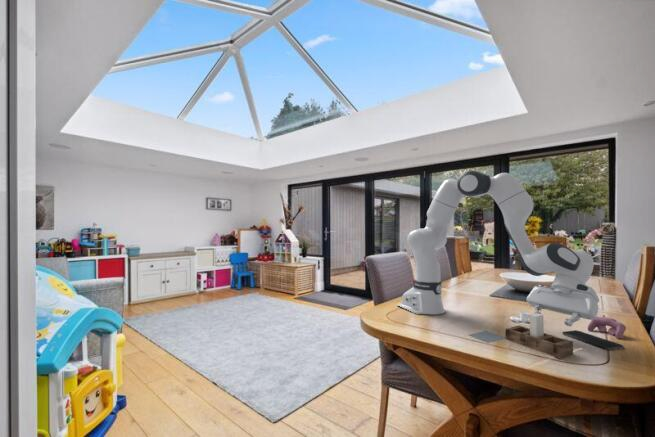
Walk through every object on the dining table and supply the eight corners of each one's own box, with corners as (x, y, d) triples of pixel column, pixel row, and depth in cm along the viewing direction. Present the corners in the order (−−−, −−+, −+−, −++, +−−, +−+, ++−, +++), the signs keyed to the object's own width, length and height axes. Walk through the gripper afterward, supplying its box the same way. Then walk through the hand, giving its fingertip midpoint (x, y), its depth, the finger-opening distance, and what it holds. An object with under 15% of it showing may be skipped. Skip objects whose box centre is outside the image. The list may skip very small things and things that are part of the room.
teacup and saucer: (508, 322, 124) (508, 312, 124) (514, 318, 130) (514, 308, 130) (532, 327, 118) (532, 317, 118) (538, 323, 123) (538, 313, 123)
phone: (607, 348, 95) (560, 331, 110) (607, 352, 95) (560, 334, 110) (625, 346, 97) (577, 330, 111) (625, 349, 97) (577, 333, 111)
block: (530, 342, 98) (529, 315, 99) (537, 340, 100) (536, 313, 100) (536, 344, 97) (536, 316, 97) (543, 342, 98) (543, 315, 98)
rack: (505, 340, 104) (505, 328, 104) (519, 336, 107) (518, 325, 107) (559, 359, 89) (559, 345, 89) (573, 354, 92) (572, 341, 93)
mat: (467, 336, 108) (467, 334, 108) (486, 331, 112) (485, 330, 112) (487, 343, 101) (487, 342, 101) (506, 338, 105) (506, 337, 105)
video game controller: (625, 342, 105) (629, 323, 107) (618, 338, 104) (623, 319, 105) (591, 333, 114) (595, 315, 116) (585, 329, 113) (589, 311, 114)
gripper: (532, 279, 115) (516, 307, 110) (598, 289, 96) (583, 323, 92) (539, 289, 117) (524, 318, 112) (605, 301, 98) (591, 335, 94)
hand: (551, 320), depth 102 cm, fingers open, 8 cm apart
